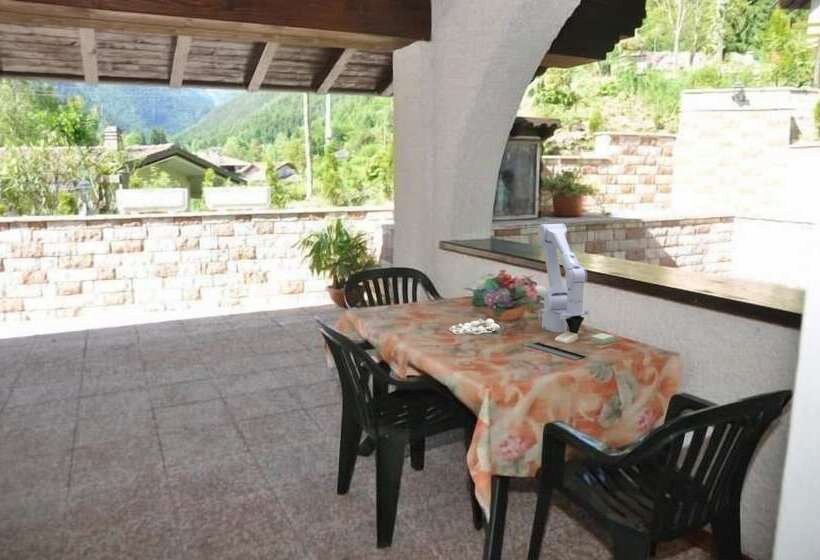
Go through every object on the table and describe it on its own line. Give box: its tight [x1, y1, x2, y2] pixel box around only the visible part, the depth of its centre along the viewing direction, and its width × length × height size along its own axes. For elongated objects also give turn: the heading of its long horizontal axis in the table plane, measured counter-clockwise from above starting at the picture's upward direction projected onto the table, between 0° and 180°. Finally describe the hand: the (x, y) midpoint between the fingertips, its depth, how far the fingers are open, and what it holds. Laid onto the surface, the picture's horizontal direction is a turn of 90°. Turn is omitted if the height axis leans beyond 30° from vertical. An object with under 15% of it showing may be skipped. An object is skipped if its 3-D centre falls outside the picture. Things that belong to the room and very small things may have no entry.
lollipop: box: [535, 285, 548, 320], centre depth 257 cm, size 6×6×15 cm
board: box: [556, 330, 624, 349], centre depth 222 cm, size 20×14×2 cm
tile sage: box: [591, 332, 615, 344], centre depth 218 cm, size 5×7×2 cm
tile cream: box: [554, 330, 578, 344], centre depth 220 cm, size 5×7×2 cm
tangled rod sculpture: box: [449, 318, 501, 335], centre depth 239 cm, size 19×14×4 cm
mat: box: [526, 342, 588, 361], centre depth 213 cm, size 22×14×1 cm, turn 36°
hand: (573, 335), depth 222 cm, fingers closed
